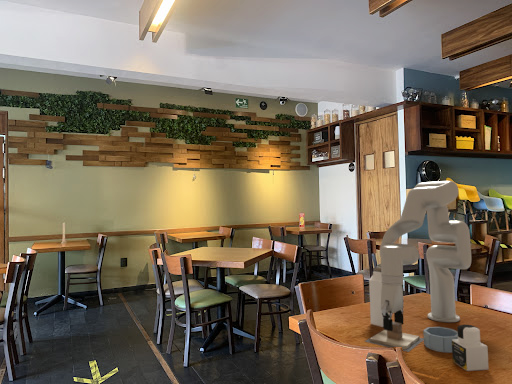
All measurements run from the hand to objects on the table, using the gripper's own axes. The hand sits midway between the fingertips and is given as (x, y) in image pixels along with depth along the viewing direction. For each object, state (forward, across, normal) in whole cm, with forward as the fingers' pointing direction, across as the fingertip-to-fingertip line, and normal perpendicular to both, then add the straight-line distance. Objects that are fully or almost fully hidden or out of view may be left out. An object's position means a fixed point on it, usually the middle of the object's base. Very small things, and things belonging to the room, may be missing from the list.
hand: (393, 326), depth 139 cm
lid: (+5, -1, 0) cm, 5 cm away
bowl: (+5, -5, +15) cm, 17 cm away
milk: (+5, -16, -12) cm, 20 cm away
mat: (+5, -1, 0) cm, 5 cm away
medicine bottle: (+6, +5, +26) cm, 27 cm away
